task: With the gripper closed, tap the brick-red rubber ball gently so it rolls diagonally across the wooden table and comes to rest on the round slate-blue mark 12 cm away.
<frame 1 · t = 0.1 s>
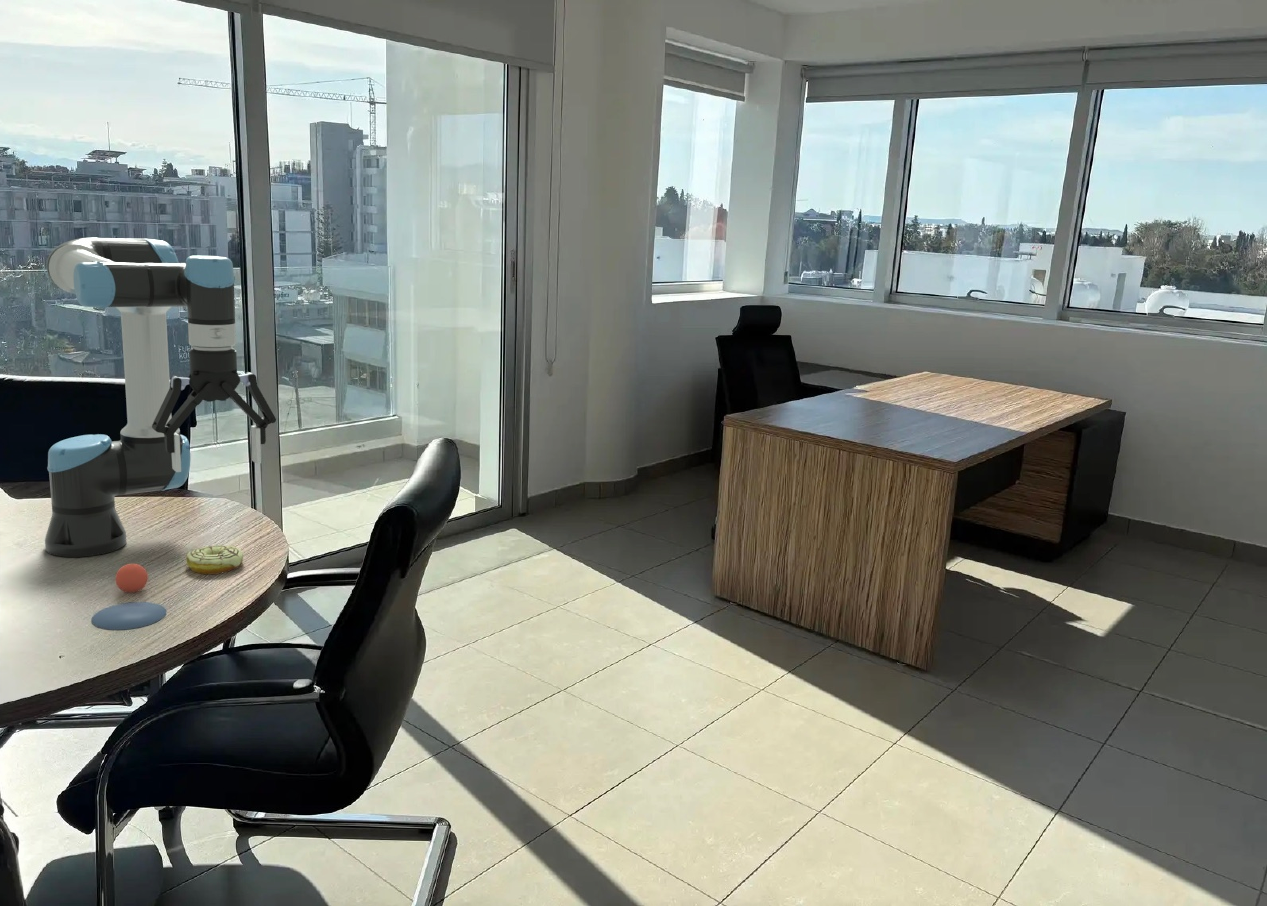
hand: (217, 466, 173), 28 cm above the table, tool pointing down, fingers open, 13 cm apart
decorated donut: (215, 568, 201), on the table
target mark: (129, 615, 175), on the table
ball: (131, 578, 185), on the table
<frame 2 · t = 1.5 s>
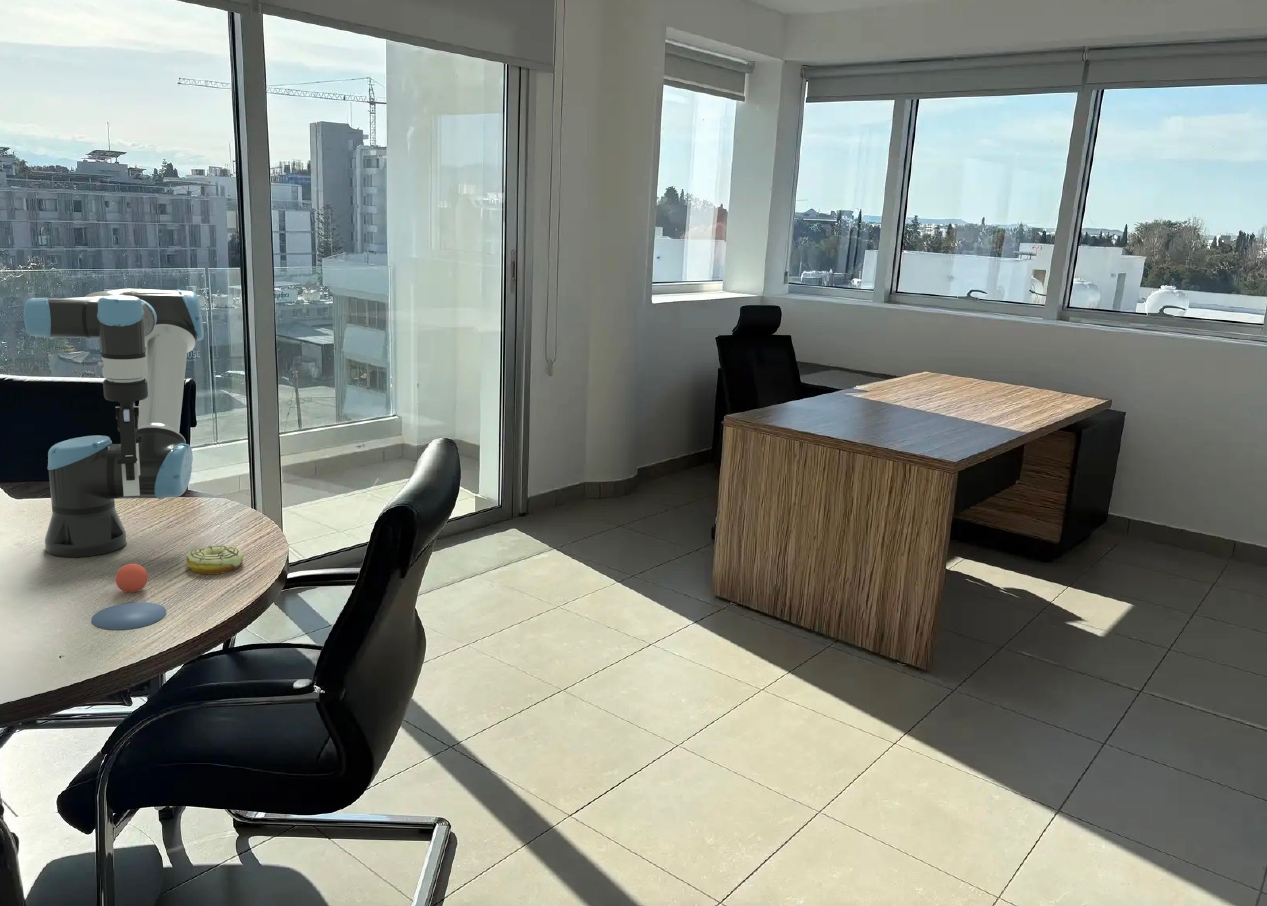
hand: (132, 485, 190), 18 cm above the table, tool pointing down, fingers open, 13 cm apart
nothing on the table moved.
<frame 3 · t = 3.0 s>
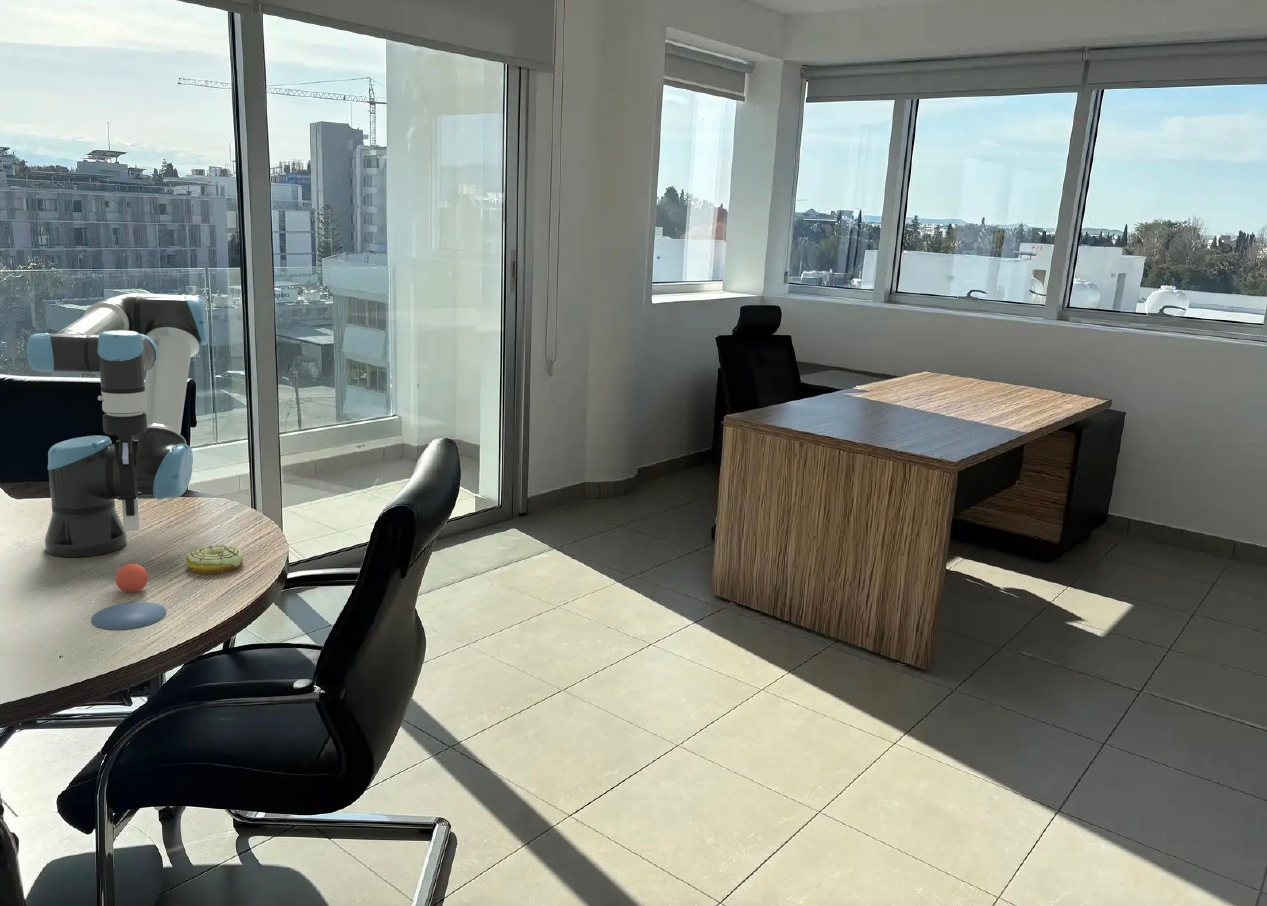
hand: (131, 529, 191), 9 cm above the table, tool pointing down, fingers closed
nothing on the table moved.
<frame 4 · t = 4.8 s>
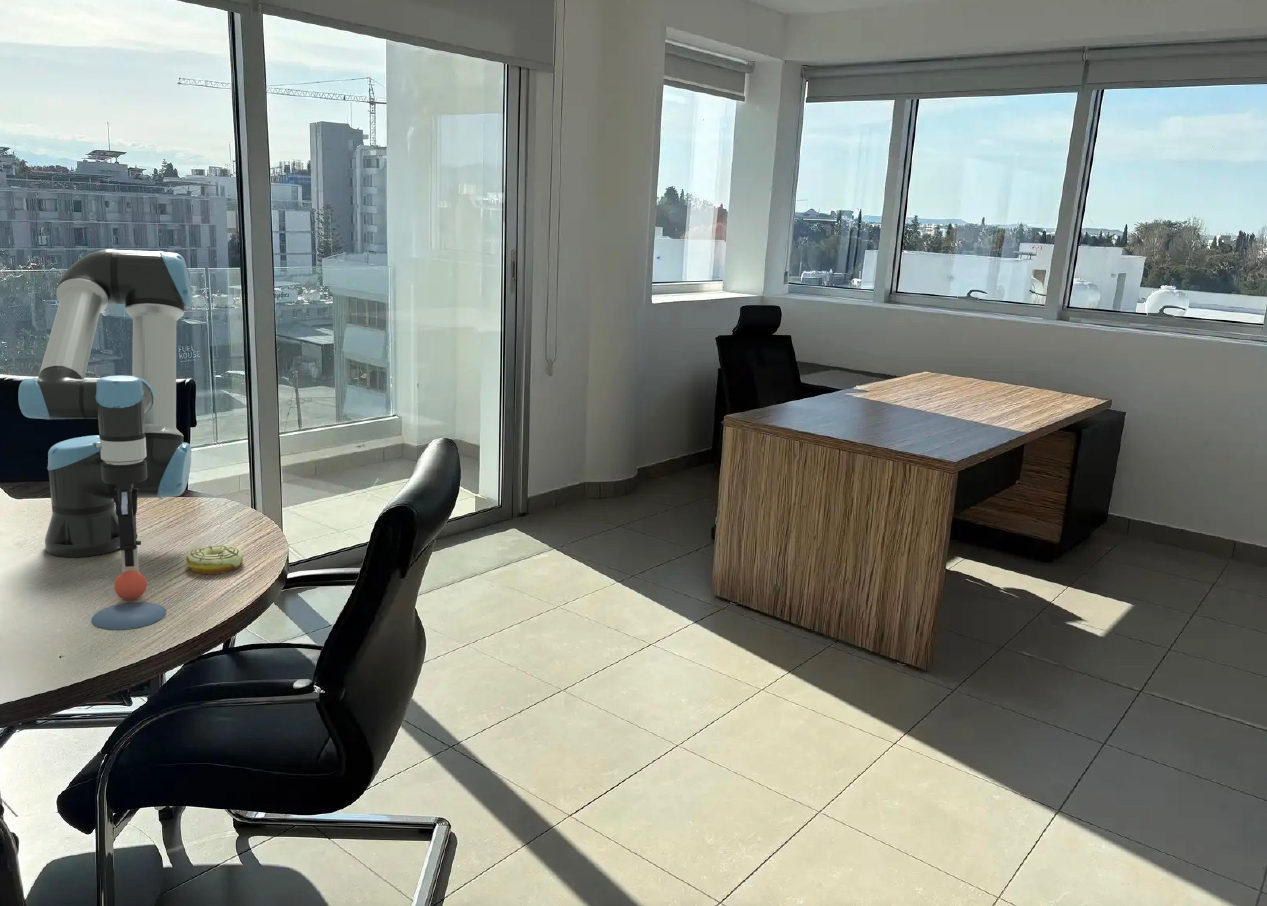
hand: (131, 580, 185), 2 cm above the table, tool pointing down, fingers closed
ball: (130, 585, 182), on the table
everything else where it was.
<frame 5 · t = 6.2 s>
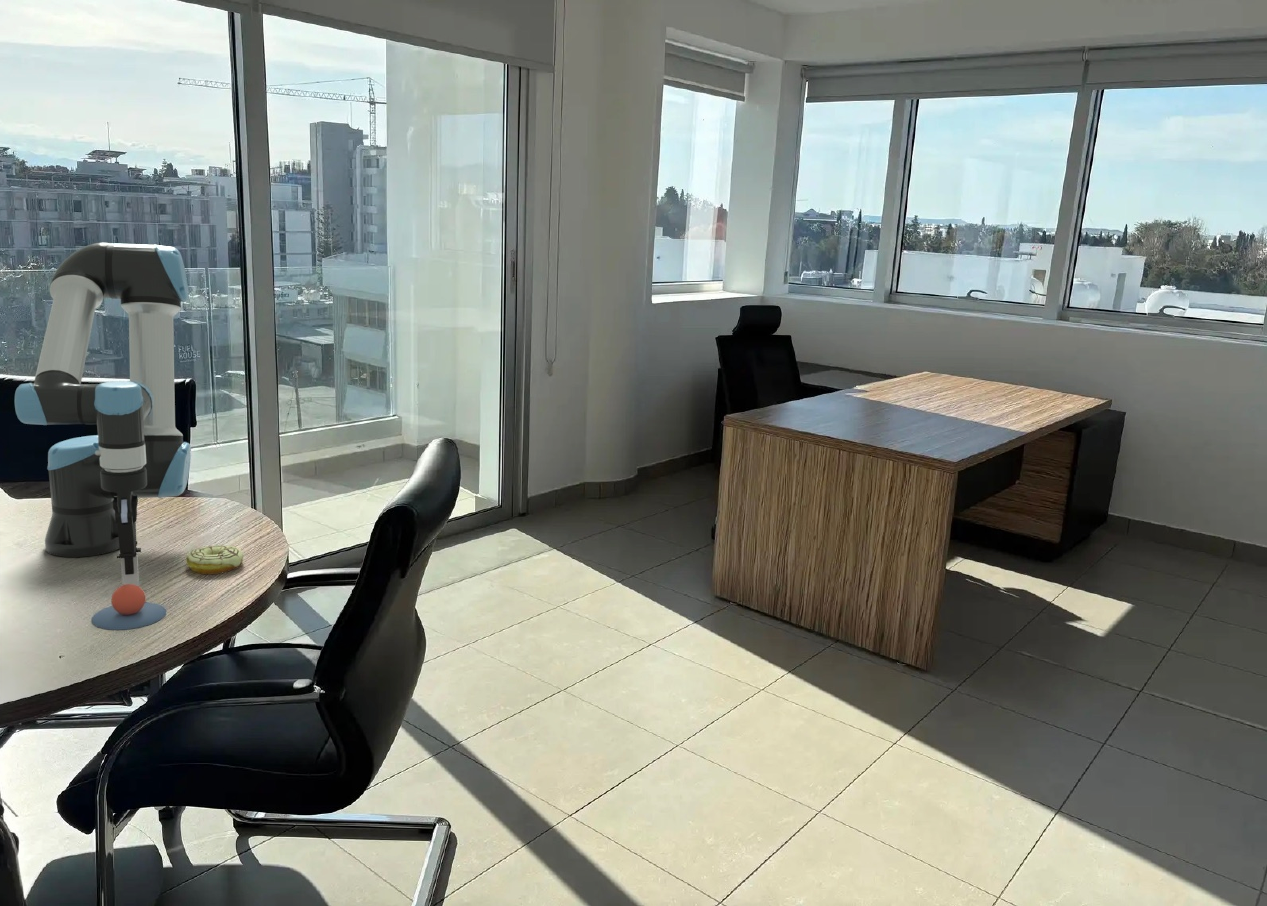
hand: (131, 587, 183), 2 cm above the table, tool pointing down, fingers closed
ball: (128, 599, 175), on the table
everything else where it was.
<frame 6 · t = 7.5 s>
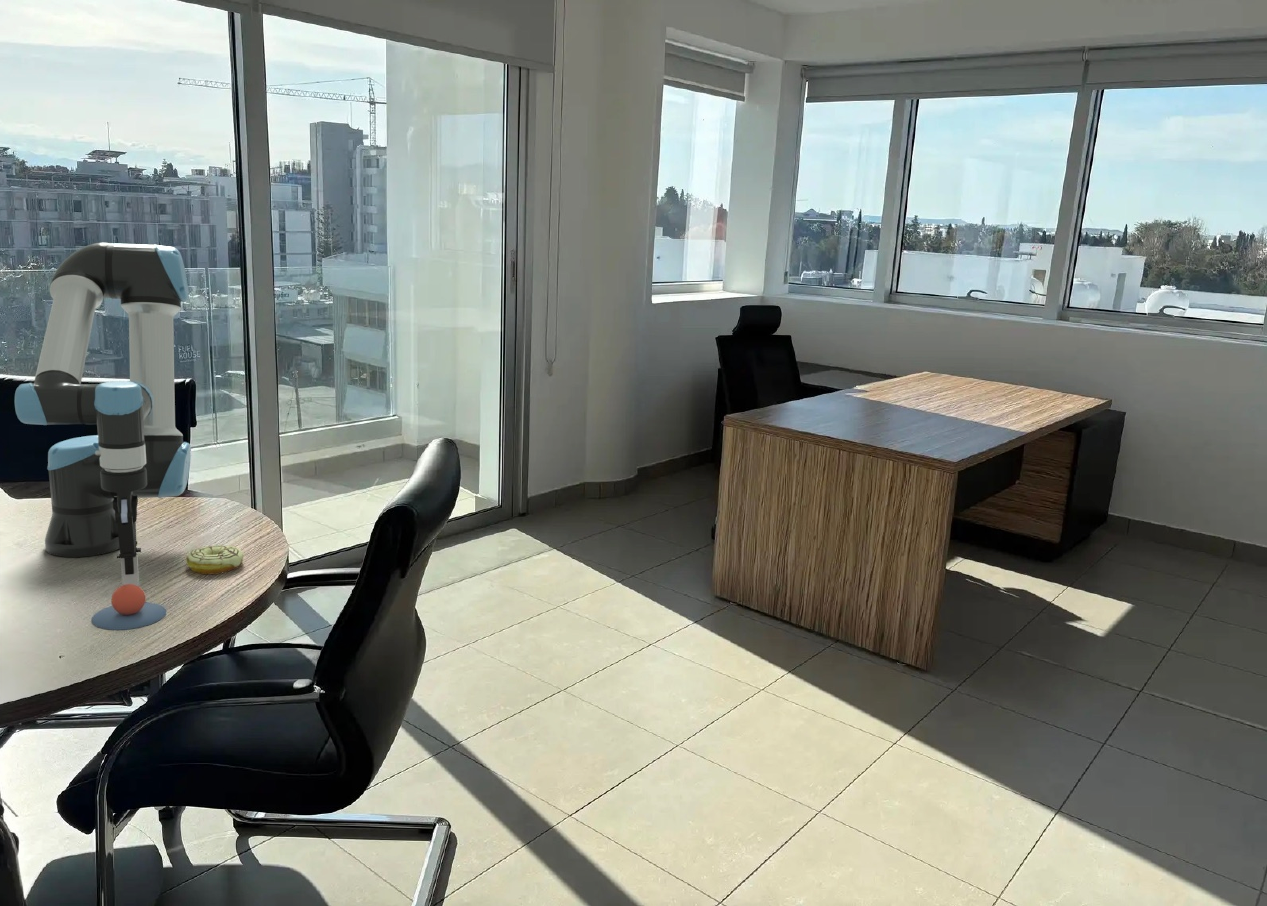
hand: (131, 587, 183), 2 cm above the table, tool pointing down, fingers closed
nothing on the table moved.
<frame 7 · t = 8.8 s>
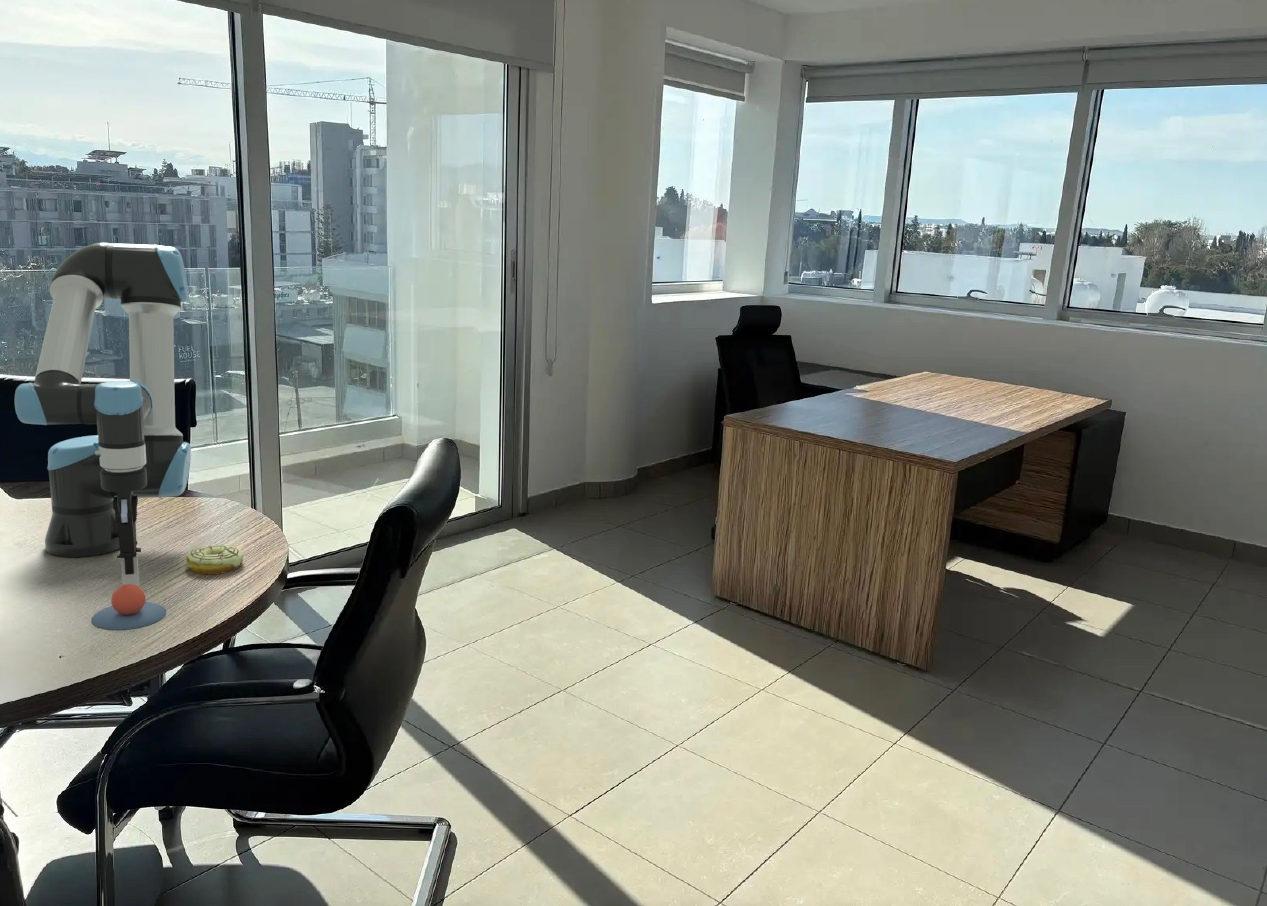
hand: (131, 587, 183), 2 cm above the table, tool pointing down, fingers closed
nothing on the table moved.
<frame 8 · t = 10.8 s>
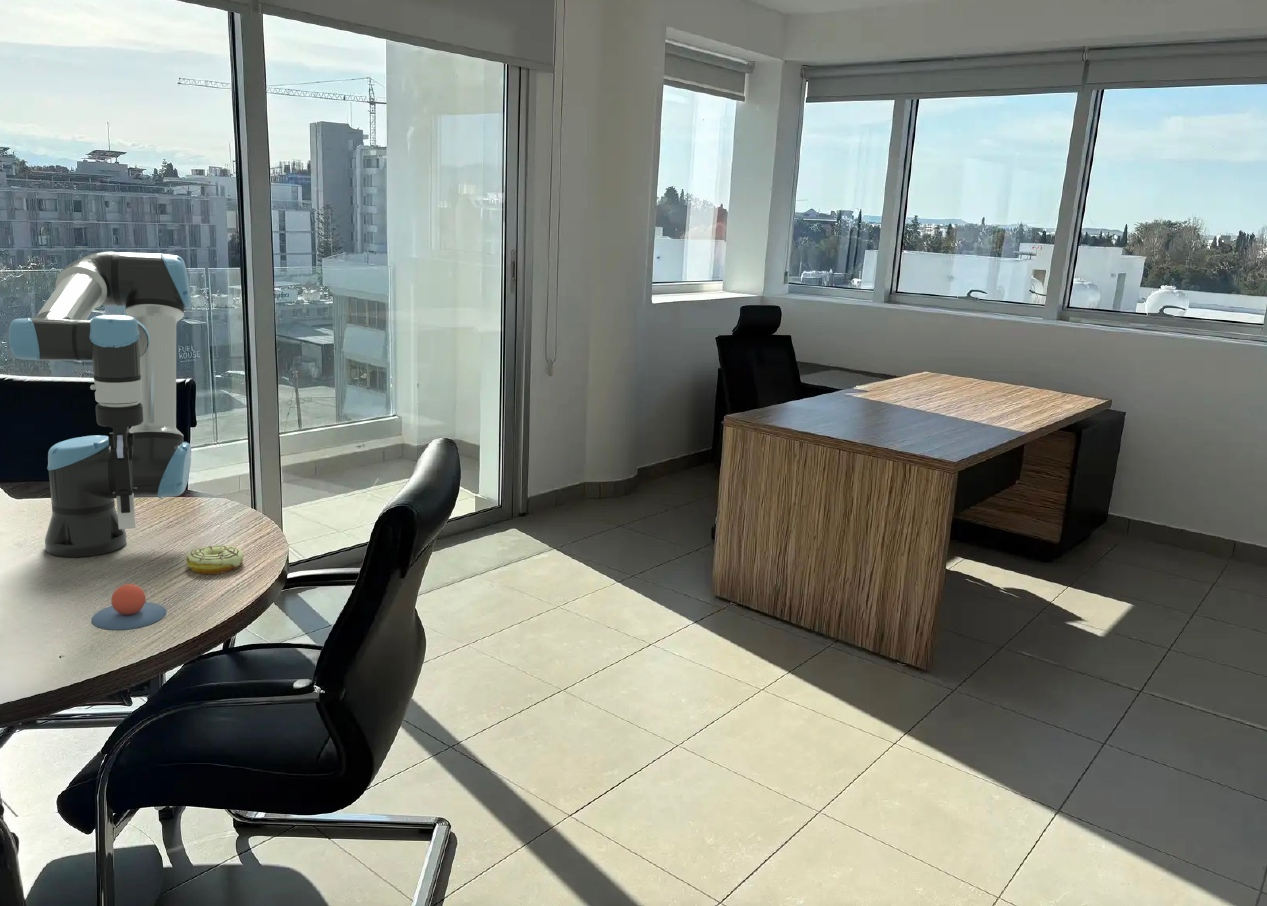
hand: (127, 527, 180), 14 cm above the table, tool pointing down, fingers closed
nothing on the table moved.
at the end: ball 1.1 cm from the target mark (horizontally); ball at rest at the end (0.0 cm/s); ball moved 10.9 cm from its start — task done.
